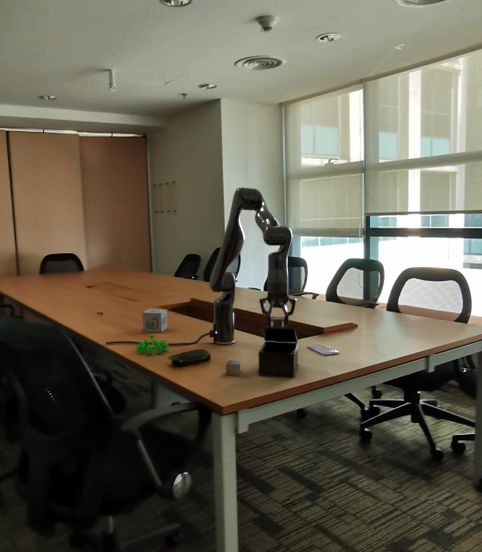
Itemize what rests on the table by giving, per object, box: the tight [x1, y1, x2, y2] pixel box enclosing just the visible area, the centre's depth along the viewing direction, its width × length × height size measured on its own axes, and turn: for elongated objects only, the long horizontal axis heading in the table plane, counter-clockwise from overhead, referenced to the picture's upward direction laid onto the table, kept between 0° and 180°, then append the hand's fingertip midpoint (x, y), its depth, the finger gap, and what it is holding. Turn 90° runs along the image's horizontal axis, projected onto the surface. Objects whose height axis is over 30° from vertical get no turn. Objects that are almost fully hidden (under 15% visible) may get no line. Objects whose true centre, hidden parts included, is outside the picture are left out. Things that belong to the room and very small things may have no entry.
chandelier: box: [135, 334, 170, 356], centre depth 217 cm, size 15×15×7 cm
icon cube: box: [142, 308, 168, 333], centre depth 258 cm, size 10×10×10 cm
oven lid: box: [258, 315, 299, 344], centre depth 187 cm, size 17×13×5 cm
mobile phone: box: [307, 343, 339, 356], centre depth 213 cm, size 8×1×15 cm
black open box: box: [258, 340, 299, 378], centre depth 187 cm, size 16×13×9 cm
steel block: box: [225, 360, 241, 377], centre depth 183 cm, size 4×4×4 cm
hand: (277, 325), depth 183 cm, fingers closed on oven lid, 5 cm apart
